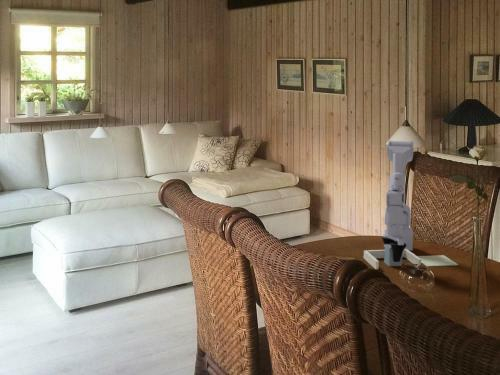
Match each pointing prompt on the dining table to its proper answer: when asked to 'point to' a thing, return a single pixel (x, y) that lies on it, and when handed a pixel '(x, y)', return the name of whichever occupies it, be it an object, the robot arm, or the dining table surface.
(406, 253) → the grey u-shaped bracket
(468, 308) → the dining table surface
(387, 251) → the block
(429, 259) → the mat
